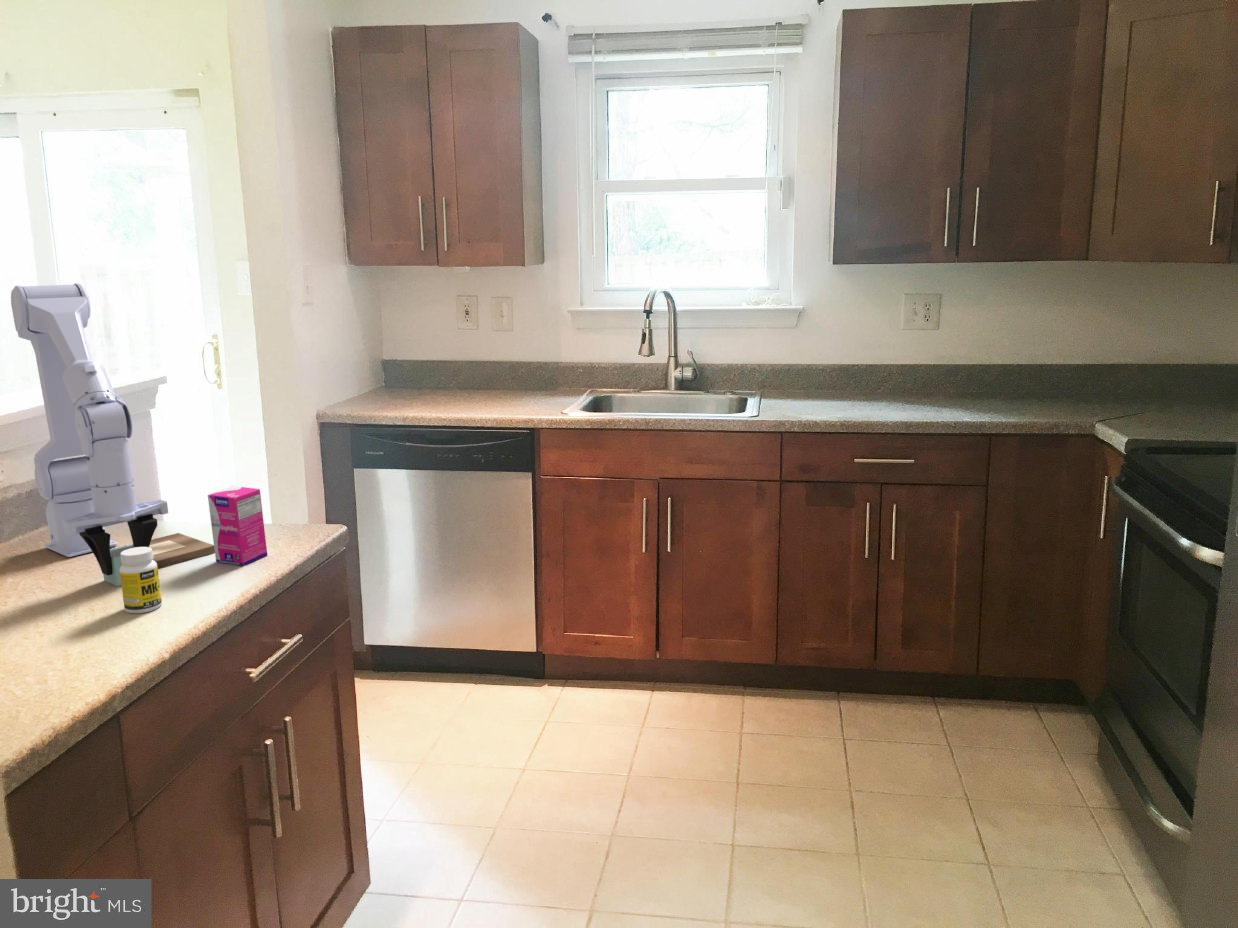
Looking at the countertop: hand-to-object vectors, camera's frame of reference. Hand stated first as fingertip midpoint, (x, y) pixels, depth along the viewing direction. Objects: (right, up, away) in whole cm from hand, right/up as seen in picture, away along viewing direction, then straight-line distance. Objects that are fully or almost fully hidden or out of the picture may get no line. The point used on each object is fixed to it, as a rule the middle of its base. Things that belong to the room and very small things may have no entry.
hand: (124, 569), depth 143 cm
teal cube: (0, -2, 0) cm, 2 cm away
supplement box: (+14, 0, +9) cm, 17 cm away
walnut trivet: (0, +1, +11) cm, 12 cm away
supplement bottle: (+9, -4, -11) cm, 15 cm away
